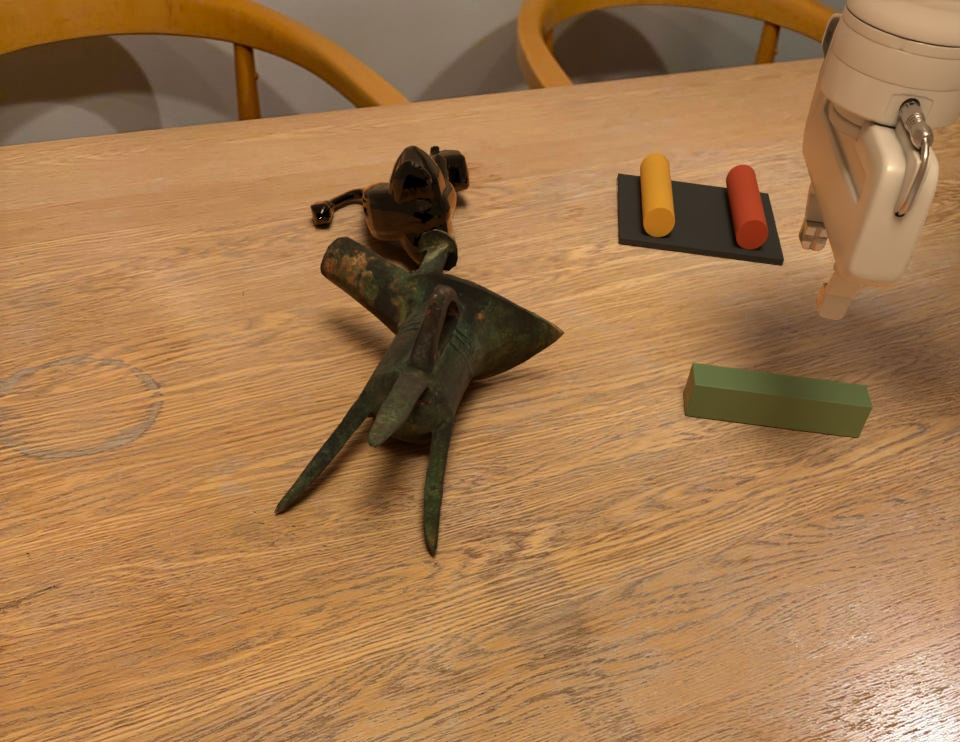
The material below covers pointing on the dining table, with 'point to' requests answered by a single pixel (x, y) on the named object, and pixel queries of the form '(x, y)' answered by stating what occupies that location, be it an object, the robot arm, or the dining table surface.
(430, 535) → the vessel
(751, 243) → the rod stand
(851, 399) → the bar
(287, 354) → the dining table surface
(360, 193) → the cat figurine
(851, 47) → the robot arm
